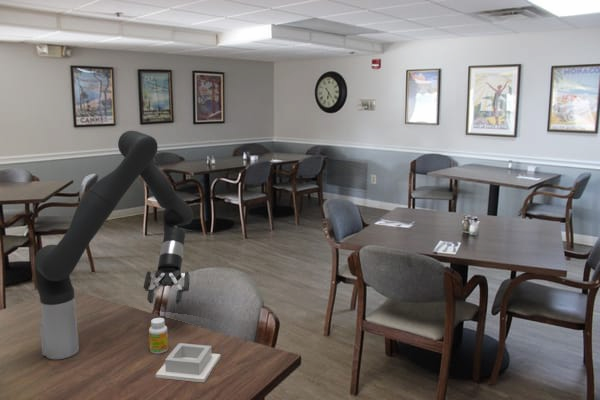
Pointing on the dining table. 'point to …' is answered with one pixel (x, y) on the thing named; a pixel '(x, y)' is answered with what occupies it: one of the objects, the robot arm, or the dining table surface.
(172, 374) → the socket block
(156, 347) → the supplement bottle
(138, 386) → the dining table surface
